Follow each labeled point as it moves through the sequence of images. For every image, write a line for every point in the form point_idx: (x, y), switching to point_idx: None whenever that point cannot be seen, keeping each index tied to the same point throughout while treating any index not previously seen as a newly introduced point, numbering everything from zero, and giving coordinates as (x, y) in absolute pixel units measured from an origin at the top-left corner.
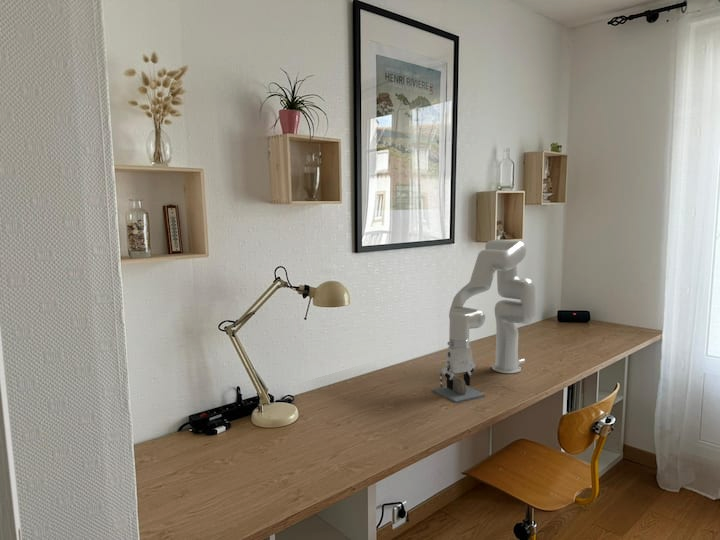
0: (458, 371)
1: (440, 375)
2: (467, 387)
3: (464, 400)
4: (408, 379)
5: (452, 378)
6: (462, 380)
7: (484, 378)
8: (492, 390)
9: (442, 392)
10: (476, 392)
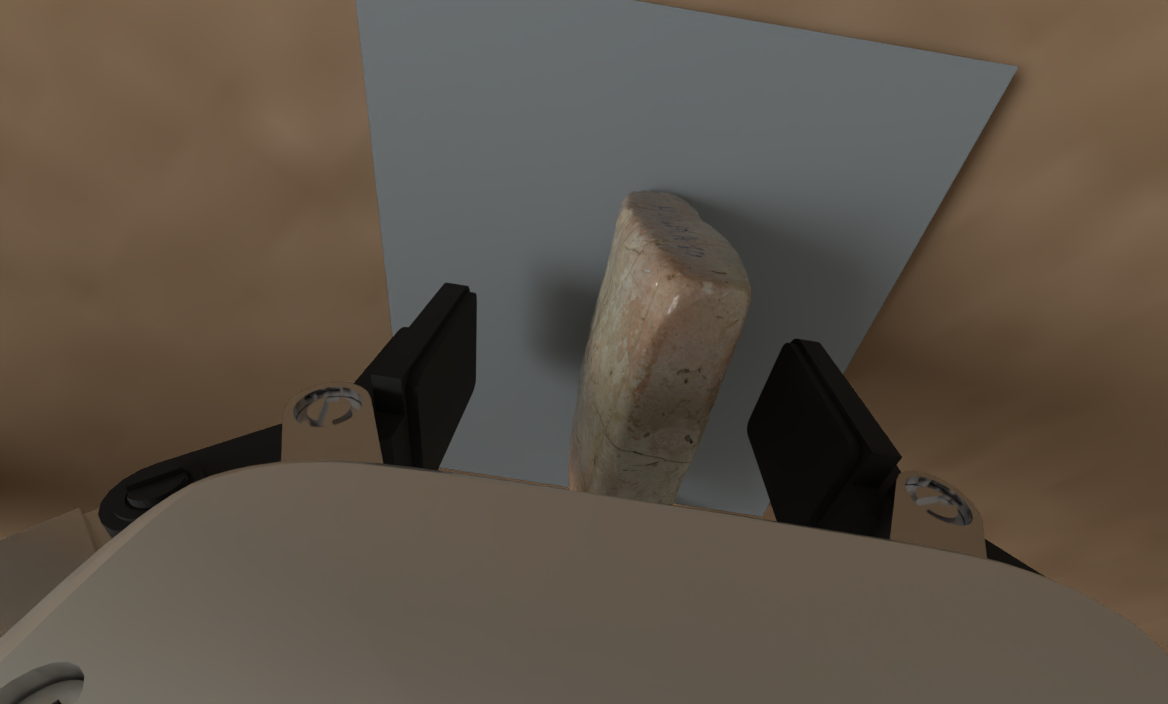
0: (939, 609)
1: None
2: None
3: (827, 37)
4: None
5: None
6: (706, 327)
7: (71, 412)
8: (112, 91)
9: None
10: (429, 136)
